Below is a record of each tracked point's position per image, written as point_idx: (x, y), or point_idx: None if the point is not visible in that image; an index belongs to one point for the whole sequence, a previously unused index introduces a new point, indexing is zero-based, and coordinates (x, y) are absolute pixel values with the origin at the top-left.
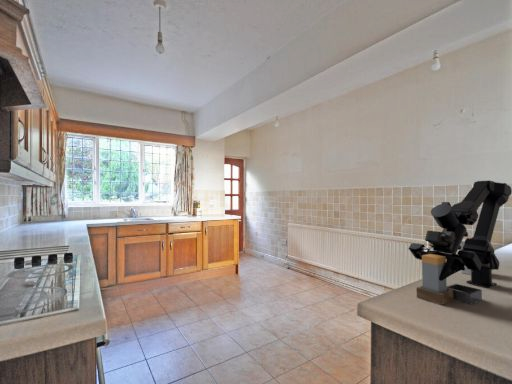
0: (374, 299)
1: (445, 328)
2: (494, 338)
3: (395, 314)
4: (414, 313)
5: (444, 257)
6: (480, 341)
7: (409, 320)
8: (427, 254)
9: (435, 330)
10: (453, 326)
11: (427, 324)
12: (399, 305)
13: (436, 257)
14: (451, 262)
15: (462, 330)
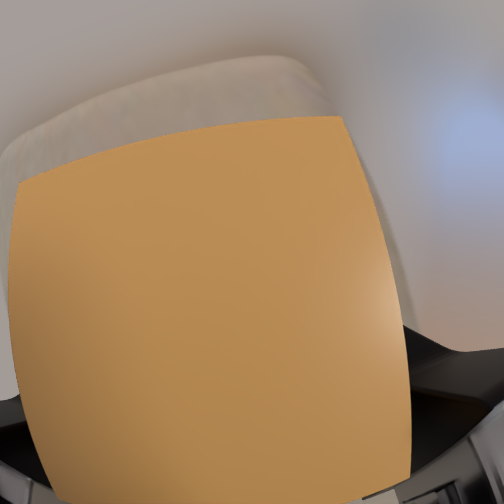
0: (318, 93)
1: (76, 128)
2: (8, 194)
3: (192, 73)
4: (167, 116)
5: (49, 455)
6: (22, 154)
7: (148, 82)
8: (397, 358)
9: (88, 103)
10: (67, 154)
11: (110, 104)
12: (239, 119)
13: (39, 222)
14: (7, 402)
15: (49, 158)
